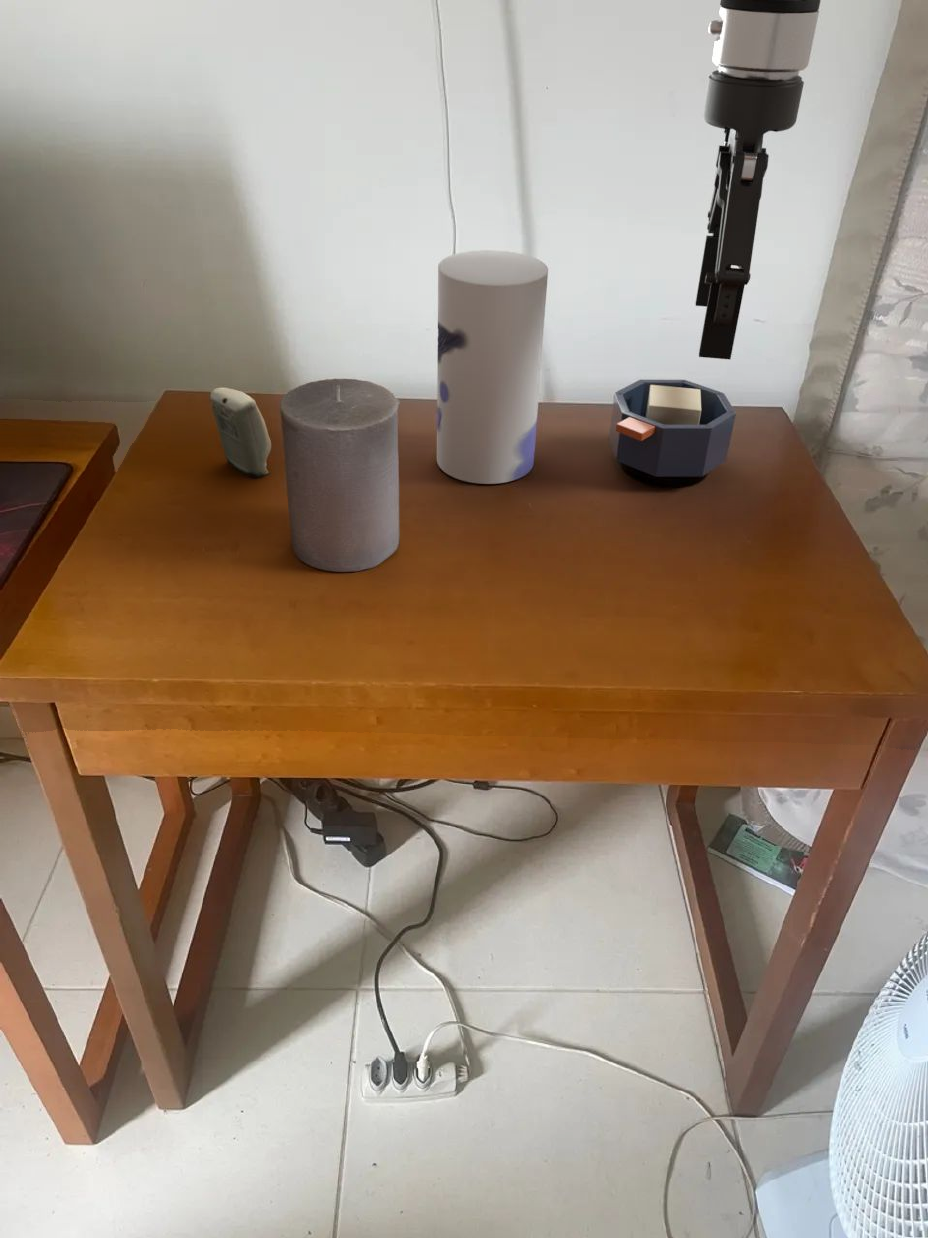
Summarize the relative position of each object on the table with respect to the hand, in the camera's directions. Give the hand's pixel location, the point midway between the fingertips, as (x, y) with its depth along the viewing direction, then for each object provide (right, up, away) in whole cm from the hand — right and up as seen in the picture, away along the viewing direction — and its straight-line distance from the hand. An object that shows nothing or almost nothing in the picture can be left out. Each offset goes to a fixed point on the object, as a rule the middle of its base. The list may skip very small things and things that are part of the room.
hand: (711, 330), depth 92 cm
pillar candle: (-34, -20, -3) cm, 39 cm away
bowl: (-3, -10, +8) cm, 13 cm away
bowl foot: (-3, -11, +10) cm, 15 cm away
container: (-21, -11, +10) cm, 25 cm away
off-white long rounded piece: (-45, -12, +8) cm, 47 cm away
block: (-2, -9, +8) cm, 12 cm away
